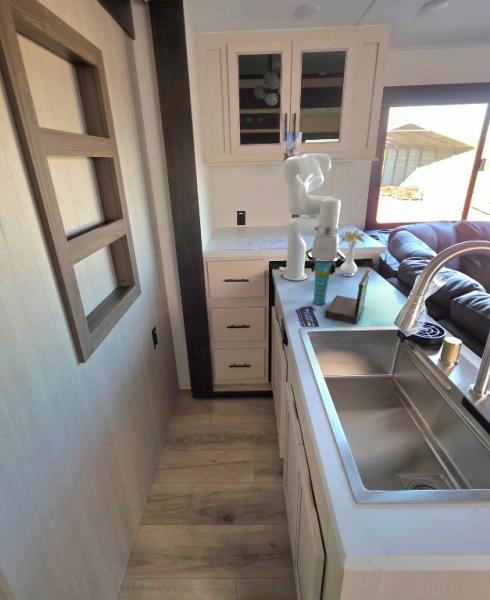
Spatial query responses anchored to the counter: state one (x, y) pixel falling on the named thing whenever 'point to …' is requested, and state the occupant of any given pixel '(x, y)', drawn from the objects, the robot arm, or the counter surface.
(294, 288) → the counter surface
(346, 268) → the flower vase
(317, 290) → the tube
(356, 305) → the dark wooden bookend
